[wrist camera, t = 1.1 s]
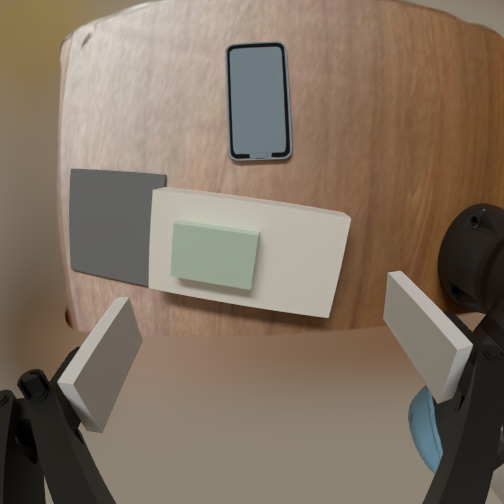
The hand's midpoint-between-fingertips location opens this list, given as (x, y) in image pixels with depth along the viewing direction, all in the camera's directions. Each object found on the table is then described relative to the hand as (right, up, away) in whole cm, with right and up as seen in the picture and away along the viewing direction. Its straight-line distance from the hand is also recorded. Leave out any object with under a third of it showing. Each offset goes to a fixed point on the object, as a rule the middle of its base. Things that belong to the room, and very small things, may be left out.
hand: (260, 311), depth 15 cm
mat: (-19, +6, +24) cm, 32 cm away
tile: (-4, +3, +20) cm, 20 cm away
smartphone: (0, +21, +19) cm, 28 cm away
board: (-1, +4, +23) cm, 24 cm away
